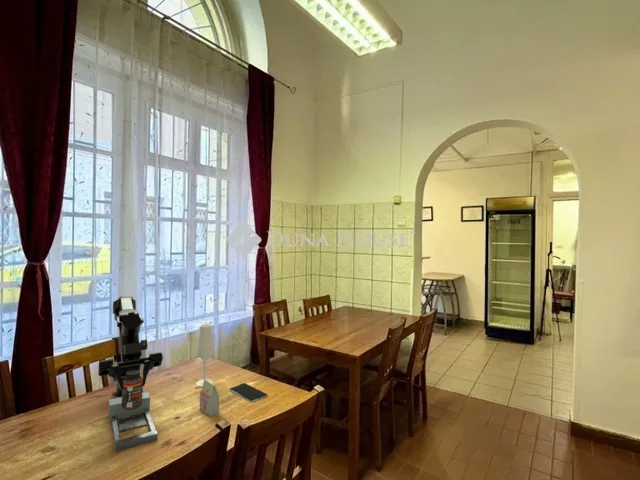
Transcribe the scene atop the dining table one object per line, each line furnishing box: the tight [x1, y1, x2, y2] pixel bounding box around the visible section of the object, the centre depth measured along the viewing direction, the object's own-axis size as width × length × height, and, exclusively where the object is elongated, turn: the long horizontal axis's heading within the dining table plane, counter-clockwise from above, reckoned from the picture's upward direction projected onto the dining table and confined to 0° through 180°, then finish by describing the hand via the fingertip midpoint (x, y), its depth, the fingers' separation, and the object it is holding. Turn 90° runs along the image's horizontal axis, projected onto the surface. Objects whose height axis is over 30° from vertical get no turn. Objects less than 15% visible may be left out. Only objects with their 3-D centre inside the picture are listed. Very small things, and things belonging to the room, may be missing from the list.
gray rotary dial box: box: [108, 391, 151, 422], centre depth 121 cm, size 5×12×6 cm, turn 123°
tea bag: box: [199, 380, 220, 417], centre depth 123 cm, size 4×7×10 cm, turn 45°
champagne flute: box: [195, 323, 214, 387], centre depth 147 cm, size 7×7×24 cm
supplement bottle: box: [122, 370, 144, 410], centre depth 114 cm, size 6×6×11 cm
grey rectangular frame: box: [111, 408, 159, 452], centre depth 110 cm, size 20×11×2 cm, turn 34°
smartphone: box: [229, 382, 268, 403], centre depth 138 cm, size 8×1×15 cm
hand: (133, 388), depth 113 cm, fingers closed on supplement bottle, 6 cm apart
